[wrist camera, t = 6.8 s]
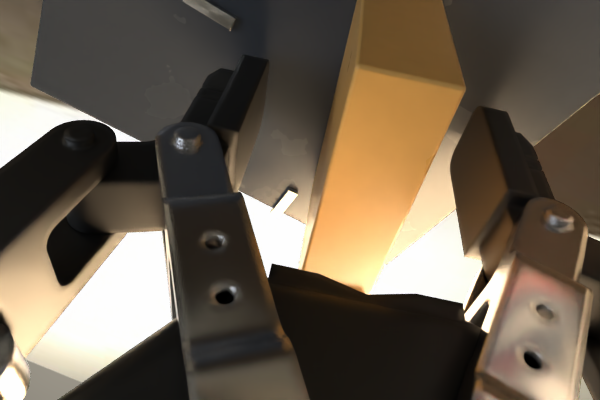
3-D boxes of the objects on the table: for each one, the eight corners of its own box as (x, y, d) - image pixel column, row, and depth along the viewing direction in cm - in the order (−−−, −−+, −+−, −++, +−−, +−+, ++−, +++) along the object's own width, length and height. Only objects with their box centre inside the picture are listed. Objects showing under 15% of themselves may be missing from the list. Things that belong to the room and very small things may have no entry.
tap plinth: (81, 42, 17) (25, 90, 14) (178, -380, 10) (102, -439, 7) (395, 212, 21) (397, 276, 18) (631, -2, 13) (692, 52, 11)
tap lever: (364, -33, 11) (354, 71, 7) (438, -17, 11) (470, 96, 7) (312, 184, 15) (289, 316, 12) (363, 195, 15) (358, 331, 12)
